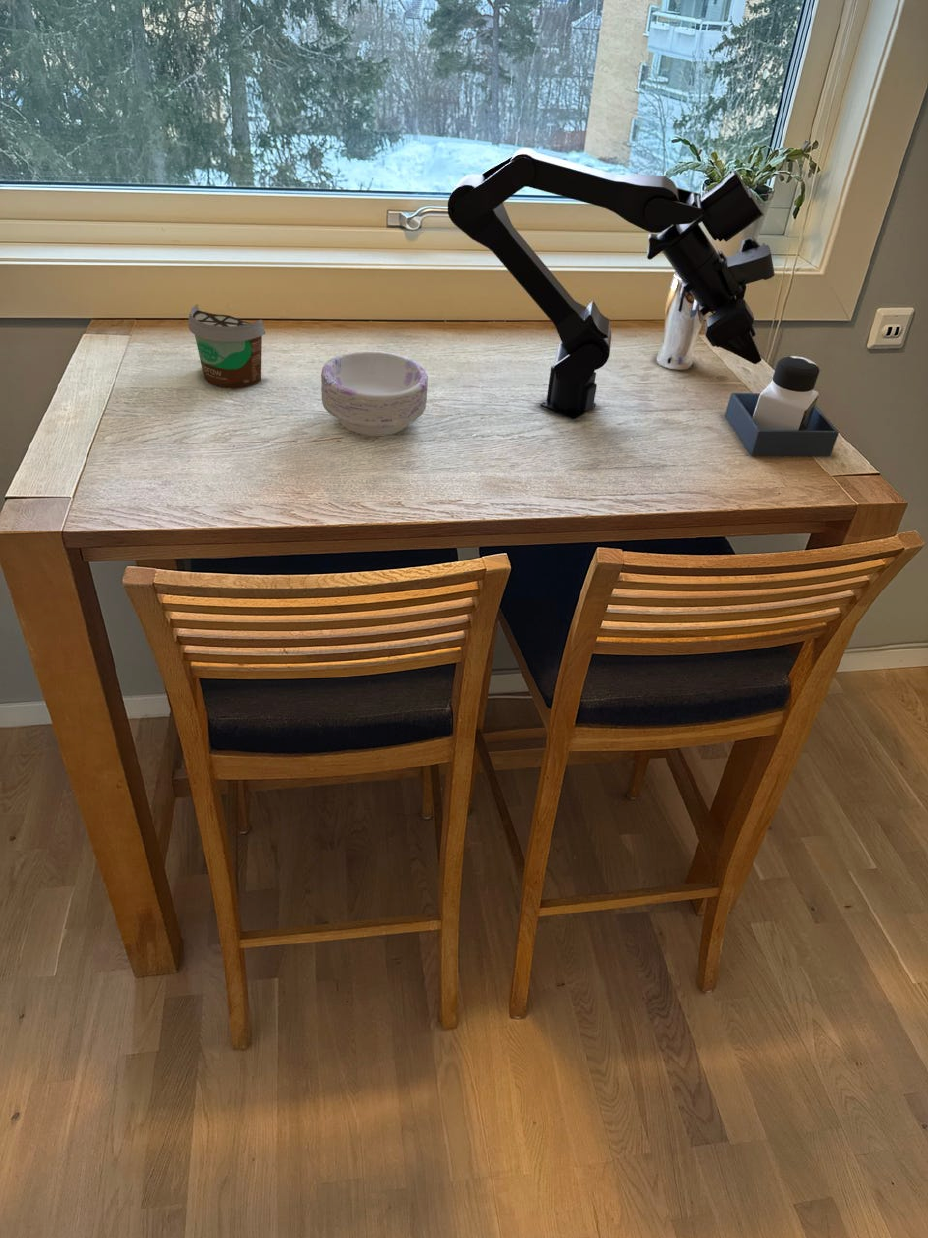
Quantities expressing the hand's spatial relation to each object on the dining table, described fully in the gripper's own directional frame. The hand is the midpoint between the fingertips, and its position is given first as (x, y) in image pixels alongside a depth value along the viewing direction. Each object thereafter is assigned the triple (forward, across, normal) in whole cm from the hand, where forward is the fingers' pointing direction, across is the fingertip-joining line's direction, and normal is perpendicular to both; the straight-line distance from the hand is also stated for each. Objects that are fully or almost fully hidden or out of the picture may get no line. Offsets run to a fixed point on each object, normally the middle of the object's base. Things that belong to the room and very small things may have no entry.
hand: (755, 348), depth 131 cm
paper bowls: (-28, -13, +47) cm, 57 cm away
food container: (-46, -7, +65) cm, 80 cm away
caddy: (+14, 0, +4) cm, 15 cm away
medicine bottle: (+14, 0, +5) cm, 15 cm away
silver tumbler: (+3, +23, +15) cm, 28 cm away
